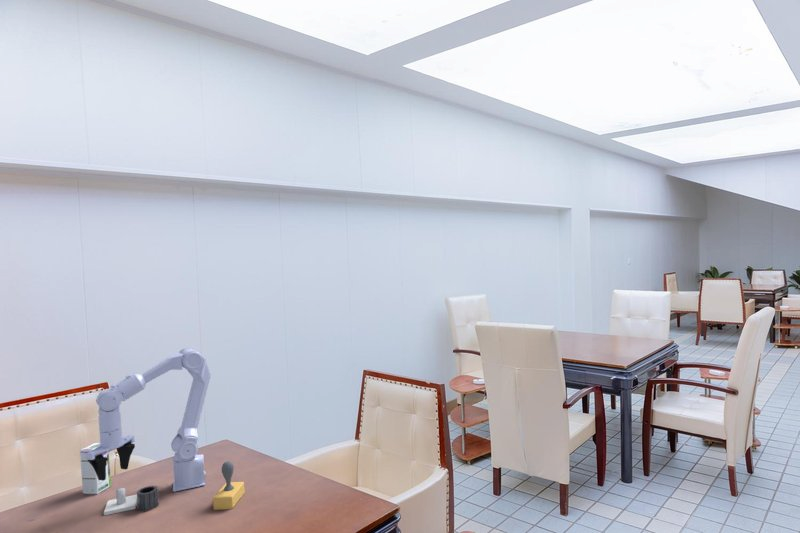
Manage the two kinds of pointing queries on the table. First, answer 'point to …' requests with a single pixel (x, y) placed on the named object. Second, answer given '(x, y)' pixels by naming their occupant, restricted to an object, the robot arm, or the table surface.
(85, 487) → the syrup box
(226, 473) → the rubber stamp
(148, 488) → the gray grooved hollow cylinder
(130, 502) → the white square peg stand
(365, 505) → the table surface
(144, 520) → the table surface
